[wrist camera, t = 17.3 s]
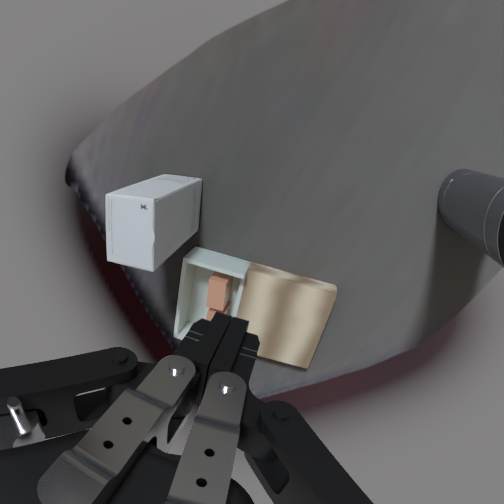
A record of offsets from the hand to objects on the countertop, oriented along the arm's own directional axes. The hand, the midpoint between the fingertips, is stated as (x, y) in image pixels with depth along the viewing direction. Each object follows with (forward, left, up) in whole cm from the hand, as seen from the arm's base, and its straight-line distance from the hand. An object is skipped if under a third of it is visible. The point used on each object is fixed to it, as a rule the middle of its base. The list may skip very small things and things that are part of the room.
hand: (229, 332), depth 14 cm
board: (-4, +17, -32) cm, 36 cm away
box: (+7, +17, -32) cm, 37 cm away
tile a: (+5, +14, -29) cm, 33 cm away
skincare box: (+15, +4, -32) cm, 36 cm away
